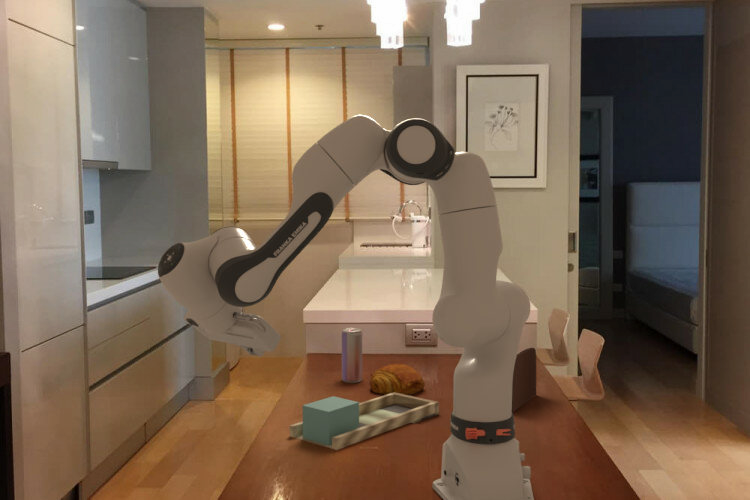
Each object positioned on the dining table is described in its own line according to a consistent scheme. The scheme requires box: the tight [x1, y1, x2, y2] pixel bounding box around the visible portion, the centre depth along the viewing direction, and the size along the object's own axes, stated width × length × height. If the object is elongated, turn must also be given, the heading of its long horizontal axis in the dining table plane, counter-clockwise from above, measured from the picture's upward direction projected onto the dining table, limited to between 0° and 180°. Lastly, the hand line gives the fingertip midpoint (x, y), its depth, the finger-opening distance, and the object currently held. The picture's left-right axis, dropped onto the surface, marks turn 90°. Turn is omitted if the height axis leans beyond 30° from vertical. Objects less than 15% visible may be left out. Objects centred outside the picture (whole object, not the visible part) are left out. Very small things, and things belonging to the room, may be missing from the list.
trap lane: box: [288, 392, 440, 451], centre depth 195 cm, size 38×14×3 cm, turn 140°
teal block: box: [302, 395, 360, 445], centre depth 185 cm, size 10×8×8 cm
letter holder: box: [512, 347, 537, 414], centre depth 216 cm, size 10×20×14 cm, turn 152°
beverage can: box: [341, 327, 363, 384], centre depth 238 cm, size 6×6×15 cm
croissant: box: [369, 363, 426, 396], centre depth 228 cm, size 14×16×8 cm
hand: (257, 352), depth 167 cm, fingers closed
